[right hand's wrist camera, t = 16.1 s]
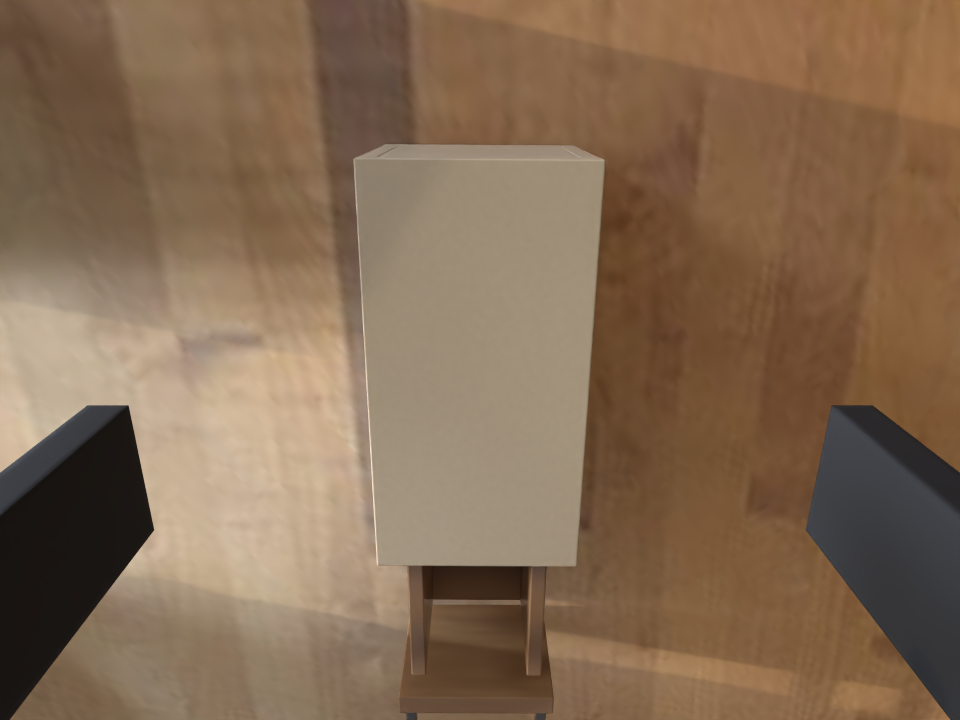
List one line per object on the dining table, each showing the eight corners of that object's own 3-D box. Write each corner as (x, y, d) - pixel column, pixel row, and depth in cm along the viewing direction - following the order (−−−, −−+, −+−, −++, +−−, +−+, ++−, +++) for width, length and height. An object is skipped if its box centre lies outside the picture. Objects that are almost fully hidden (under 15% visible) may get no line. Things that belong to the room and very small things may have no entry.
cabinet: (556, 470, 42) (576, 567, 33) (398, 470, 42) (376, 566, 33) (574, 145, 35) (606, 159, 26) (384, 144, 35) (353, 157, 26)
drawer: (539, 683, 47) (549, 784, 40) (413, 682, 47) (401, 783, 40) (555, 365, 38) (571, 424, 32) (401, 364, 38) (383, 422, 31)
